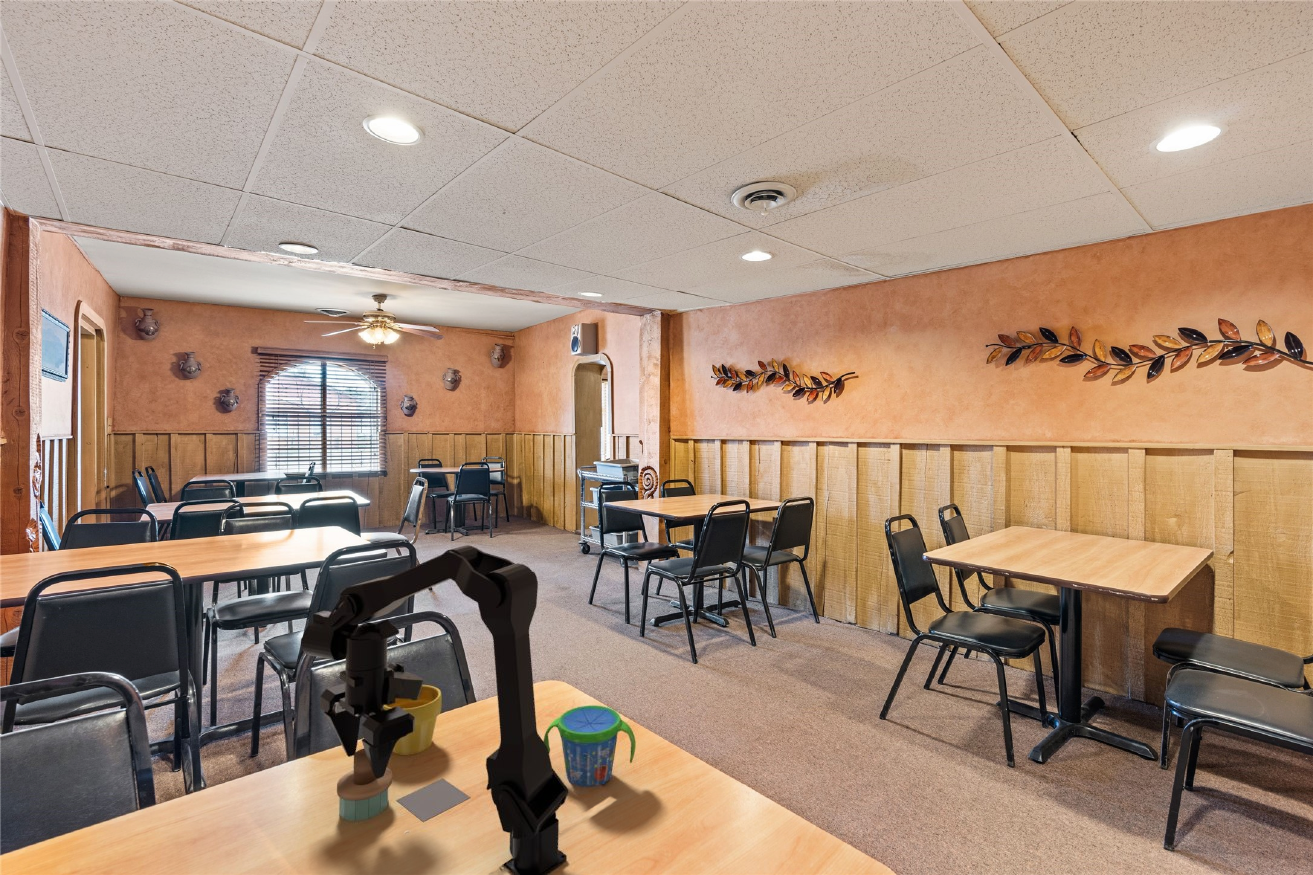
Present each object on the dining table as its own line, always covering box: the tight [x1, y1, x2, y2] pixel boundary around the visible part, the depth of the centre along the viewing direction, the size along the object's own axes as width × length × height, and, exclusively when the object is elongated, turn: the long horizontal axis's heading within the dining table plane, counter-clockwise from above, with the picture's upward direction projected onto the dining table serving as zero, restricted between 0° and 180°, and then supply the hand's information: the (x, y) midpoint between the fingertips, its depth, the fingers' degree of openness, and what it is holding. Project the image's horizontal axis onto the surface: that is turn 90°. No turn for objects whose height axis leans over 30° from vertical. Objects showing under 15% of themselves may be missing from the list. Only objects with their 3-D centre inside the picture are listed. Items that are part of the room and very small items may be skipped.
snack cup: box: [543, 705, 636, 788], centre depth 103 cm, size 16×10×10 cm
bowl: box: [338, 788, 389, 822], centre depth 93 cm, size 7×7×4 cm
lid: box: [336, 748, 393, 801], centre depth 93 cm, size 8×8×5 cm
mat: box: [395, 778, 471, 823], centre depth 95 cm, size 8×8×1 cm
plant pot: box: [383, 684, 443, 756], centre depth 111 cm, size 10×10×10 cm
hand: (365, 766), depth 93 cm, fingers open, 9 cm apart
